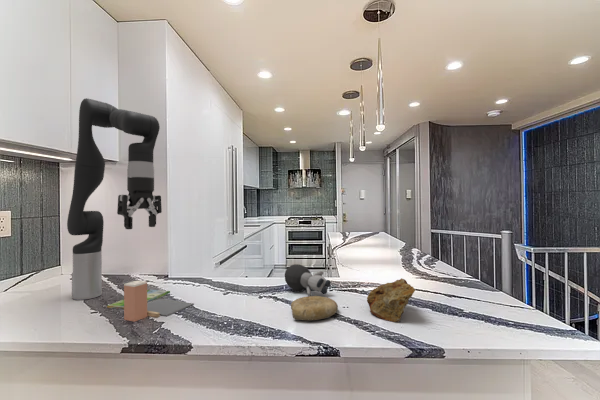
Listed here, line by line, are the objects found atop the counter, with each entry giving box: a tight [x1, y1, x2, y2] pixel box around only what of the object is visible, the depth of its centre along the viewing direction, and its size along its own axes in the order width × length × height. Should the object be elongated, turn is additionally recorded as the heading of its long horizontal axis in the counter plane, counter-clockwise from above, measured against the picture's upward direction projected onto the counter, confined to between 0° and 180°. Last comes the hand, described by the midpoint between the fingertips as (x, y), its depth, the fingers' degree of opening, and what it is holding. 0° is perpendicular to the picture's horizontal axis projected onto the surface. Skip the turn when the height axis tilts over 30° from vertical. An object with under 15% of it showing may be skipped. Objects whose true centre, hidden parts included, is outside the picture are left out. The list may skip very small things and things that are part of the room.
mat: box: [147, 298, 195, 318], centre depth 104 cm, size 16×12×1 cm
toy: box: [284, 263, 332, 296], centre depth 120 cm, size 11×12×20 cm
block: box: [123, 280, 148, 322], centre depth 94 cm, size 4×4×11 cm
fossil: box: [290, 295, 339, 321], centre depth 97 cm, size 17×15×5 cm
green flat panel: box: [106, 289, 171, 310], centre depth 113 cm, size 20×1×10 cm
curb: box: [147, 311, 161, 319], centre depth 97 cm, size 12×1×1 cm, turn 67°
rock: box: [366, 278, 416, 323], centre depth 97 cm, size 20×15×10 cm
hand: (140, 228), depth 96 cm, fingers open, 8 cm apart
